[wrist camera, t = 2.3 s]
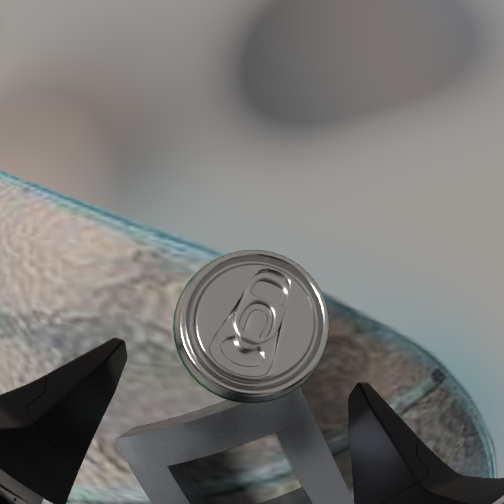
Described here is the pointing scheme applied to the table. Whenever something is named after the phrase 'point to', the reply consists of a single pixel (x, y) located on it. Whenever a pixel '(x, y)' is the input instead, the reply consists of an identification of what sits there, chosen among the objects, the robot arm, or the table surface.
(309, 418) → the sleeve block
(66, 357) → the table surface
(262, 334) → the soda can
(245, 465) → the table surface
